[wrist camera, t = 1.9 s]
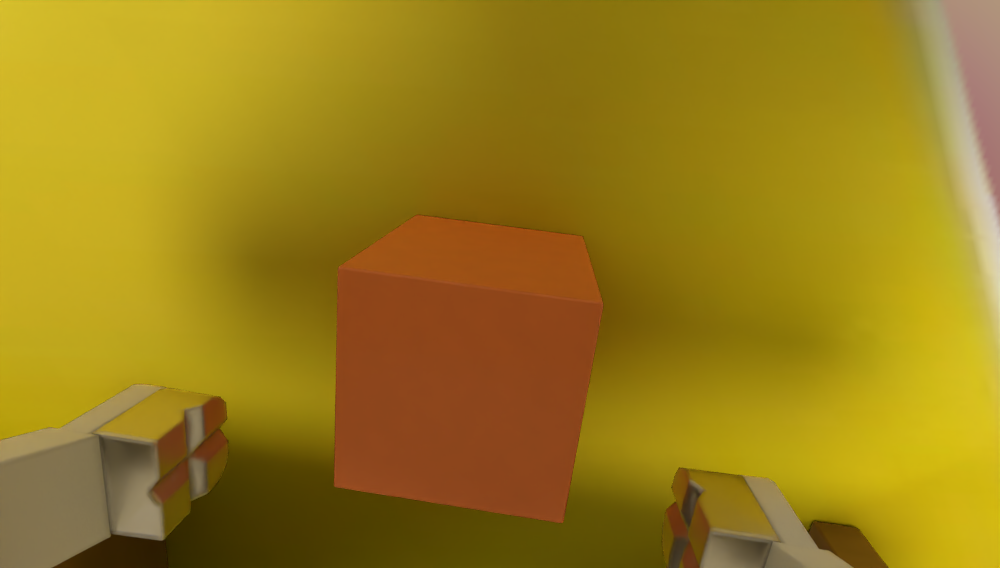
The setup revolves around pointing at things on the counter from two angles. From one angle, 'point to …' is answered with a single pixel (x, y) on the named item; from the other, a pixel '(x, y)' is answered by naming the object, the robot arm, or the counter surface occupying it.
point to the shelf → (143, 562)
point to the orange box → (465, 365)
